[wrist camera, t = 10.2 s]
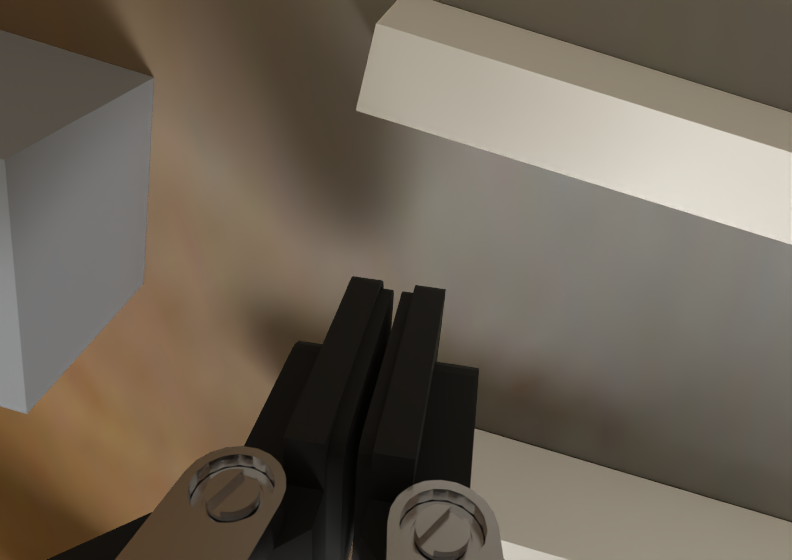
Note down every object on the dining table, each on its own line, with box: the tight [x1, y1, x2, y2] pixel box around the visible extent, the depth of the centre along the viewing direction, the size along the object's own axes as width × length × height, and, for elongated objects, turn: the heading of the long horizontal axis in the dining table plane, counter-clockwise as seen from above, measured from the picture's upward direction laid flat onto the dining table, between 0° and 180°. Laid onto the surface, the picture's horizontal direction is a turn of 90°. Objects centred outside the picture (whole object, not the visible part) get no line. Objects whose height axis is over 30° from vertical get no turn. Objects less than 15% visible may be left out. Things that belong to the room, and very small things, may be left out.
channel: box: [356, 0, 792, 560], centre depth 12 cm, size 16×10×3 cm, turn 75°
